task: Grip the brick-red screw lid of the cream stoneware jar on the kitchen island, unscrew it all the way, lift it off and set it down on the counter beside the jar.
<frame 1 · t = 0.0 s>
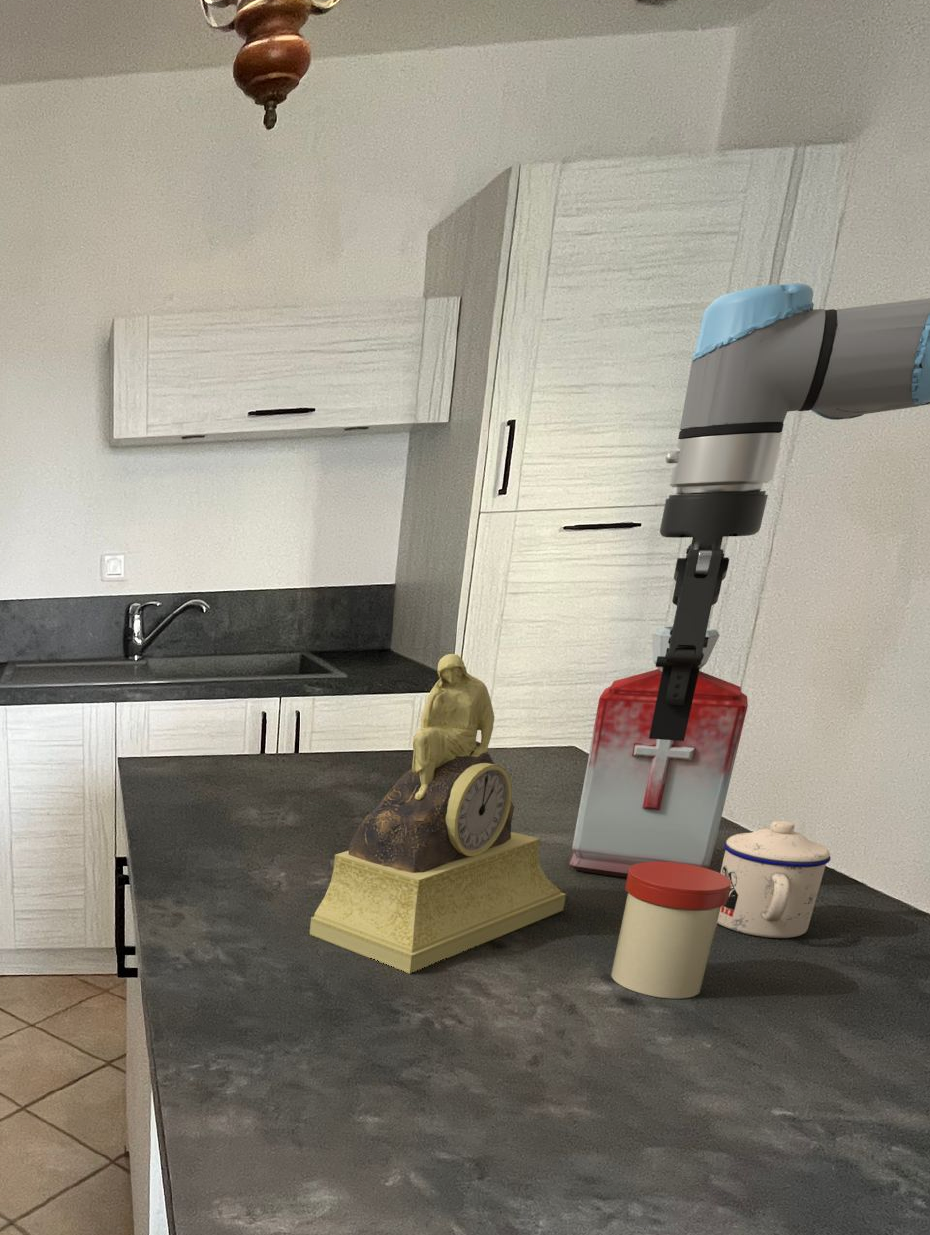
hand: (667, 726, 95), 23 cm above the countertop, tool pointing down, fingers open, 13 cm apart
teacup with lid: (758, 930, 106), on the countertop
jar: (654, 981, 96), on the countertop
bottle: (635, 872, 124), on the countertop
decorative clock: (438, 923, 111), on the countertop
lid: (677, 879, 92), point 11 cm above the countertop, screwed on, not yet turned
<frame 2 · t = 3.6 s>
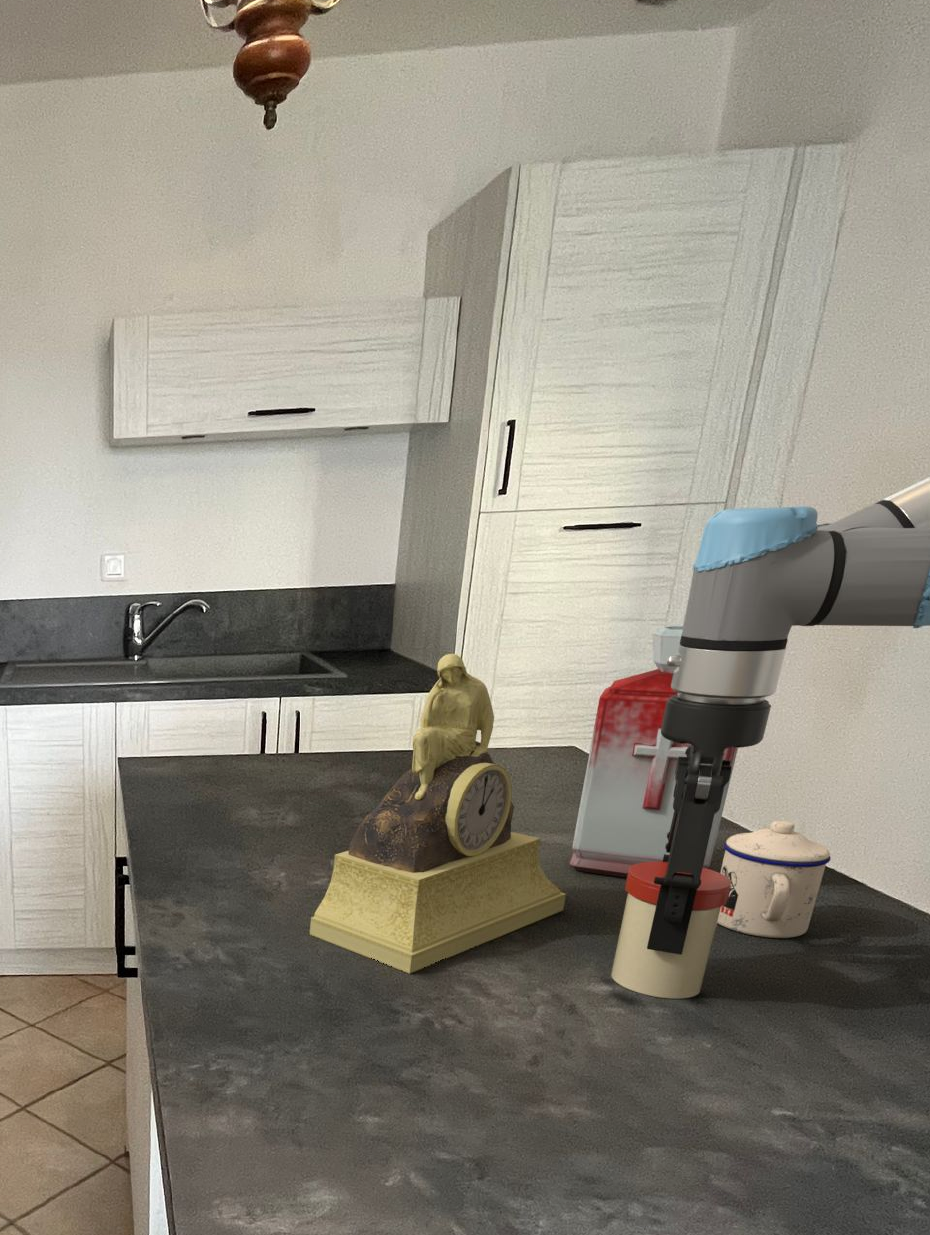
hand: (665, 933, 94), 5 cm above the countertop, tool pointing down, fingers closed on lid, 8 cm apart
lid: (677, 879, 92), point 11 cm above the countertop, screwed on, not yet turned, touching gripper
everything else where it was.
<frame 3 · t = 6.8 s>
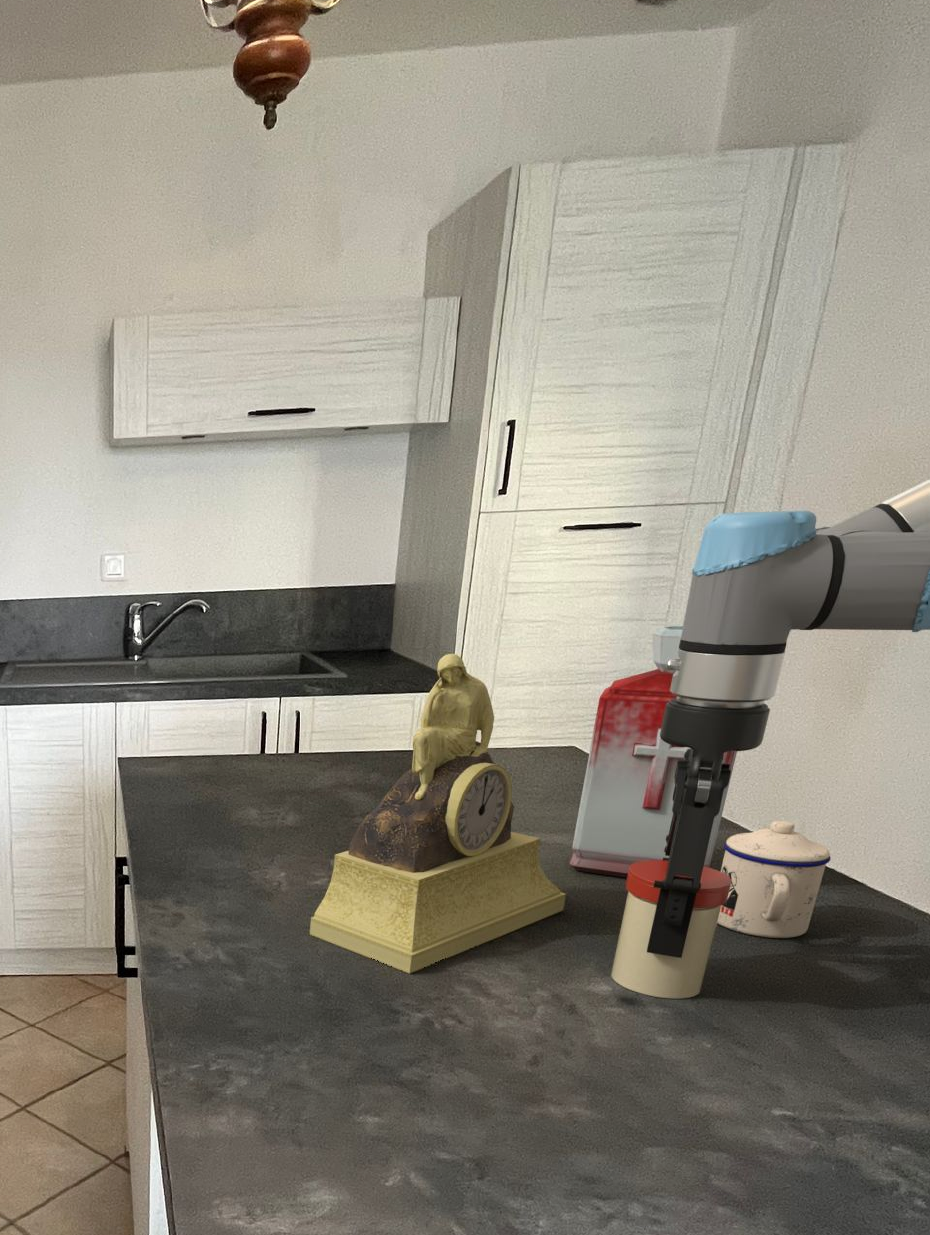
hand: (664, 937, 94), 5 cm above the countertop, tool pointing down, fingers closed on lid, 8 cm apart
lid: (678, 877, 92), point 11 cm above the countertop, turned 108° so far, risen 0.1 cm, still on its thread, touching gripper
everything else where it was.
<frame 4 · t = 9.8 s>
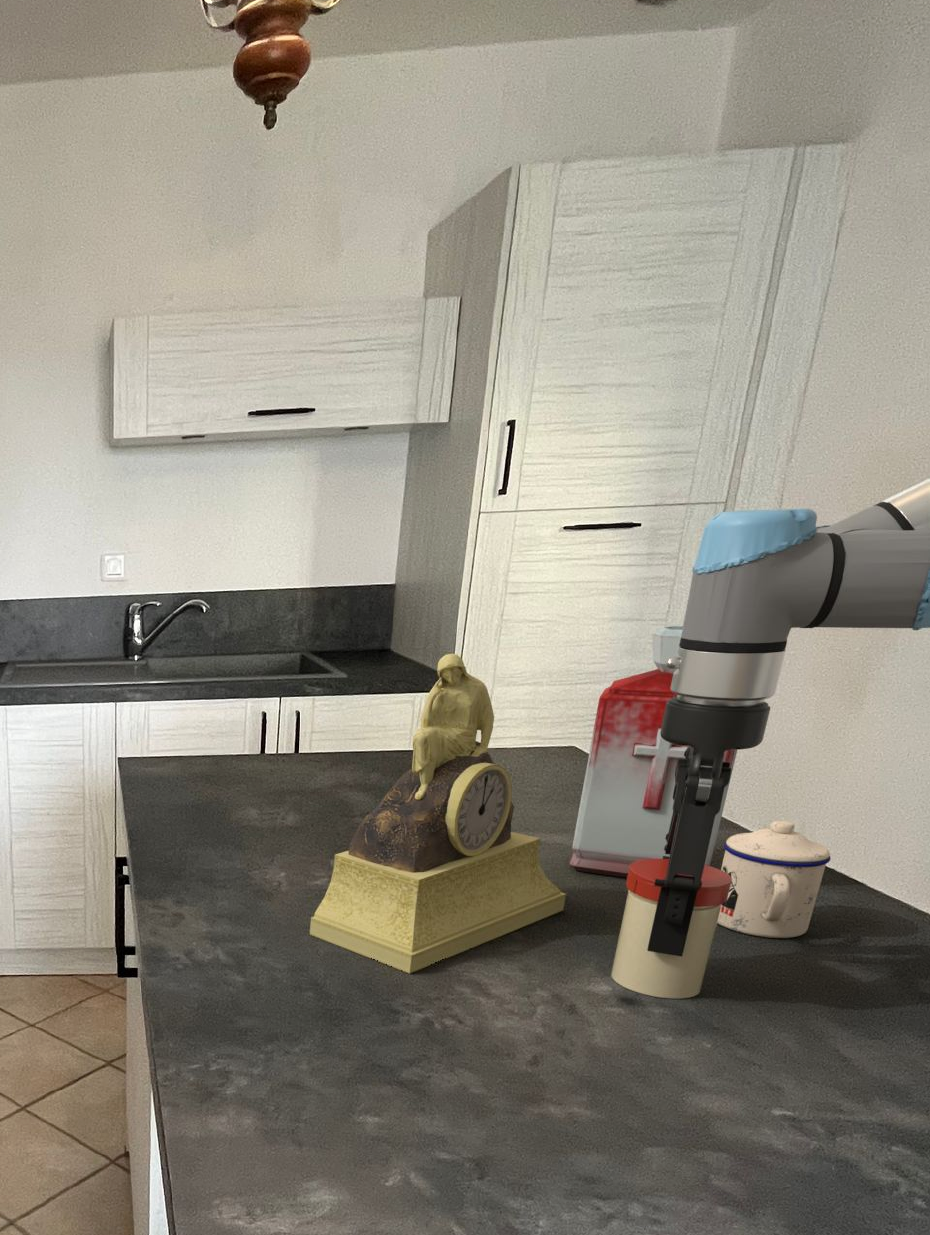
hand: (665, 935, 94), 5 cm above the countertop, tool pointing down, fingers closed on lid, 8 cm apart
lid: (678, 876, 92), point 11 cm above the countertop, turned 217° so far, risen 0.3 cm, still on its thread, touching gripper
everything else where it was.
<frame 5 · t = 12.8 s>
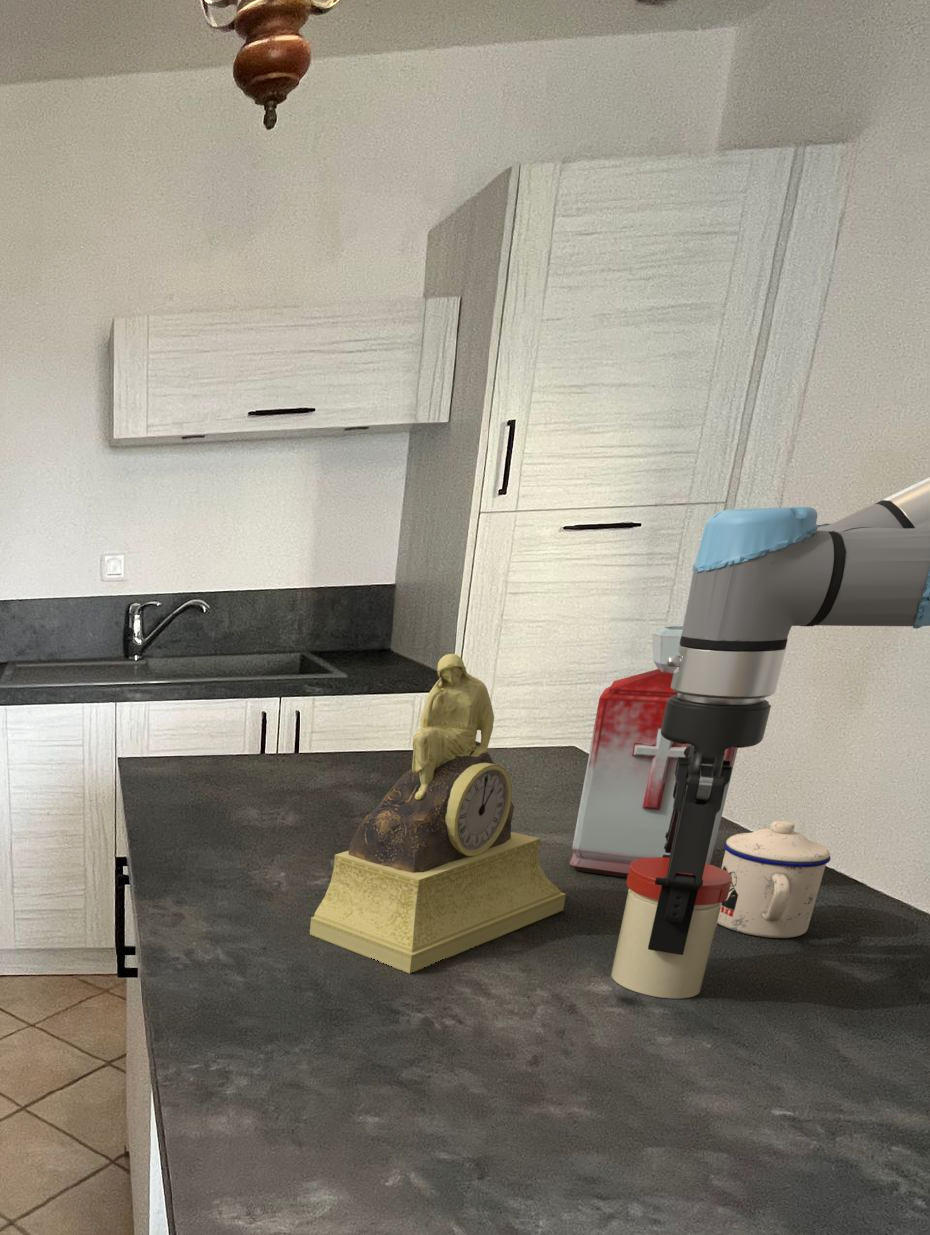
hand: (665, 934, 94), 5 cm above the countertop, tool pointing down, fingers closed on lid, 8 cm apart
lid: (679, 874, 92), point 11 cm above the countertop, turned 325° so far, risen 0.4 cm, still on its thread, touching gripper
everything else where it was.
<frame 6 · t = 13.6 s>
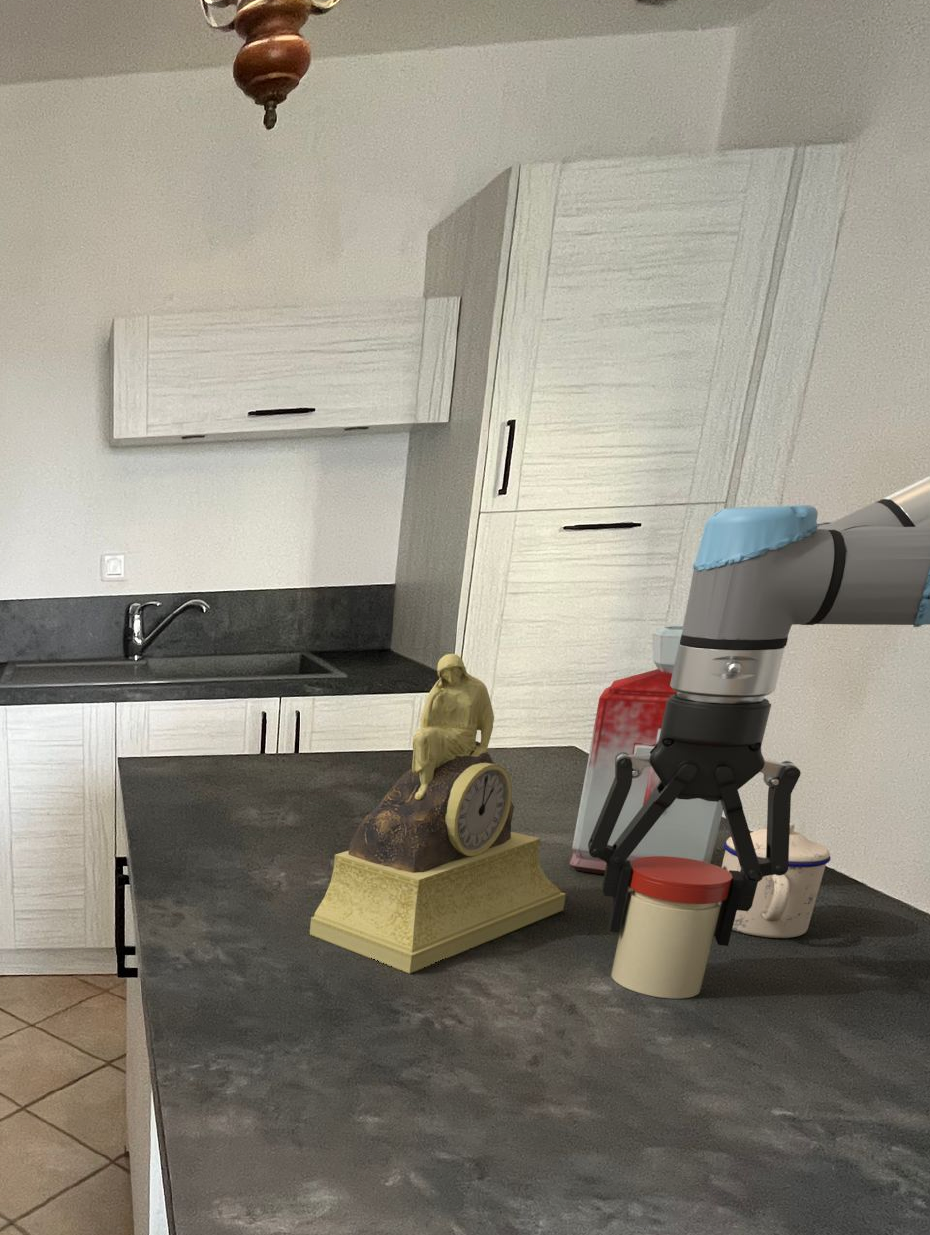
hand: (665, 933, 94), 5 cm above the countertop, tool pointing down, fingers closed on lid, 8 cm apart
lid: (679, 873, 92), point 11 cm above the countertop, off its thread, touching gripper
everything else where it was.
when the fingers open (2 cm above the countertop, at t = 20.4 s): lid drops 6 cm, point 1 cm above the countertop.
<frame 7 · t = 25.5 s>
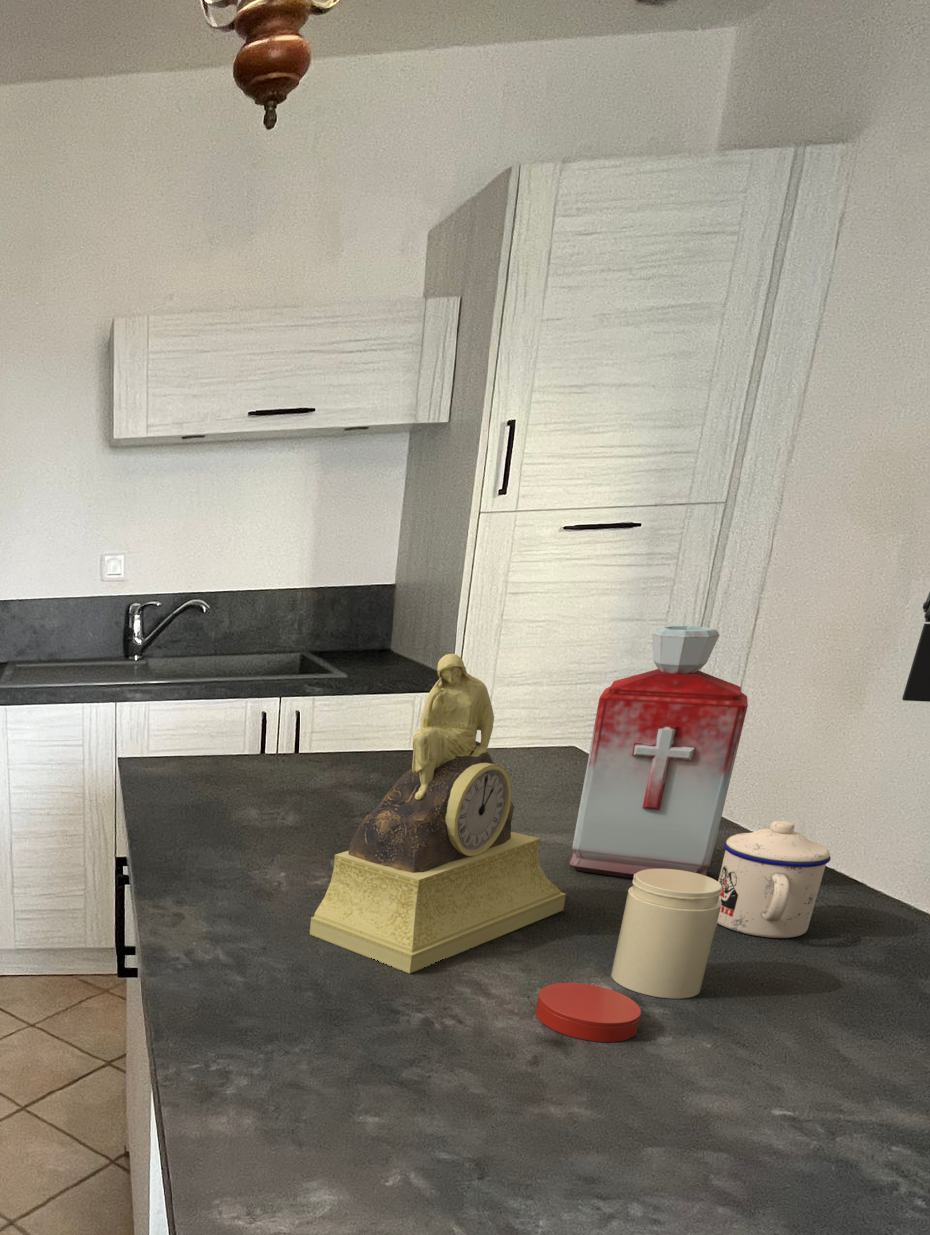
lid: (588, 1005, 88), point 1 cm above the countertop, off its thread
everything else where it was.
at the end: lid came off its thread; lid inside the target area (0.0 cm from its centre), point 1.5 cm above the countertop; the gripper is holding nothing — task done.
